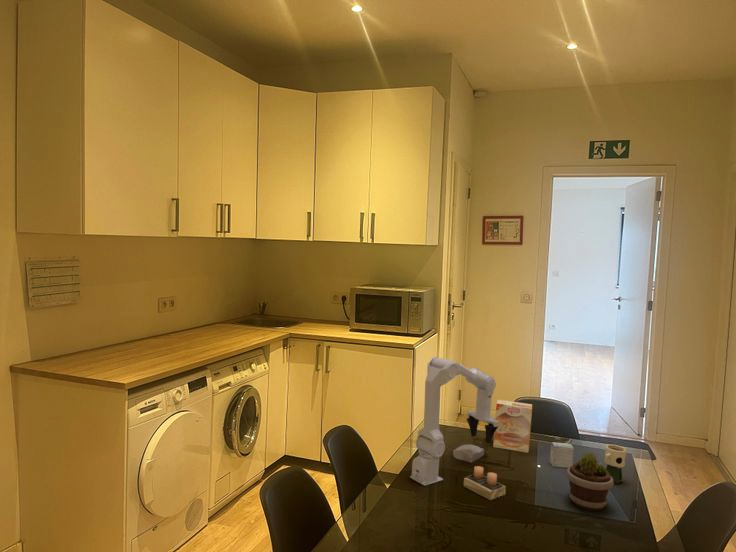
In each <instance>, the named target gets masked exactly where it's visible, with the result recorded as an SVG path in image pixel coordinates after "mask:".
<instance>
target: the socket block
mask: <svg viewBox="0 0 736 552" xmlns="http://www.w3.org/2000/svg"><path fill="white" fill-rule="evenodd" d="M463 487H464V488H466V489H467V490H469V491H472V492H474V493H475V494H477V495H479V496H481V497H482V498H483V497H484V498H485V499H487V500H488V501H493V500H494V499H495V500H496V499H498V498H500V496H501V497H503V496H505V495H506V488H507V487H506V485H504V484H502V483H501V482H496V486H490V485H488V484H487V476H485V475H483V479H476V478H474V473H473V474H470V475H467V476H466V477H464V479H463ZM497 497H498V498H497Z"/></svg>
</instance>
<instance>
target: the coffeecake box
mask: <svg viewBox="0 0 736 552" xmlns="http://www.w3.org/2000/svg"><path fill="white" fill-rule="evenodd" d="M495 408H496V409H495V418H494V419H495V420H497V421H499V425H498V428H497V429H496V431H495V432H494V434H493V443H492V444H493V445H492V447H493V448H497V449H504V450H509V451H515V452H516V451H517V452H521V453H527V454H528V453H529V451H530V450H529V449H530V441H531V440H530V439H531V428H532V416H533V414H532V413H533V404H531V403H526V402H517V401H511V400H505V399H504V400H503V399H497V400H496V407H495Z"/></svg>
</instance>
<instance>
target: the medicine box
mask: <svg viewBox="0 0 736 552" xmlns="http://www.w3.org/2000/svg"><path fill="white" fill-rule="evenodd" d="M550 444H551V445H550V455H549V463H550V464H551V466H552V467H554V468H555V467H556V468H565V469H568V468H569V467H571V466H573V463H574V453H575V451H574V449H575V448H574V446H573V445H572V444H571V443H566V442H554V441H553V442H550Z"/></svg>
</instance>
